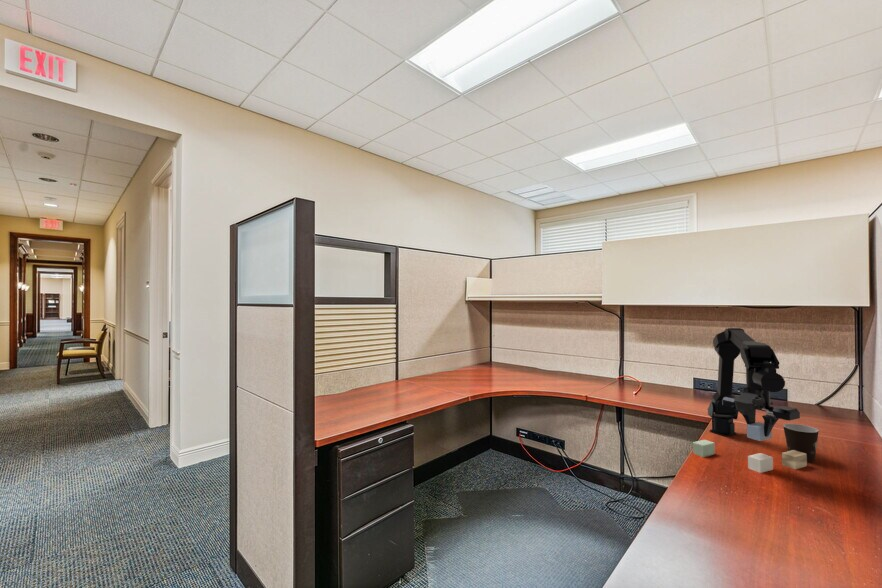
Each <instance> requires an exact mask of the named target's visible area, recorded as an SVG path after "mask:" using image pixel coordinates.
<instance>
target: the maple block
mask: <svg viewBox="0 0 882 588" xmlns="http://www.w3.org/2000/svg"><path fill="white" fill-rule="evenodd" d="M781 465H782V466H783V467H787V468H790V469H793V470H799V469H802V468H805V467H807V466H808V462H807V454H806V453H802V452H799V451H795V450H791V451H788V450H787V451H784V452H781Z"/></svg>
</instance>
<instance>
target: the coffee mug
mask: <svg viewBox="0 0 882 588" xmlns="http://www.w3.org/2000/svg"><path fill="white" fill-rule="evenodd" d="M782 426H783V432H784V437H785V442H786V443H785V444H786V449H787V451H791V450H795V451H799V452H802V453H806V454H807V463H814V462H815V461H816V455H817V454H816V452H817V445H818V440H819V439H818V438H819V431H820V430H819V429H818V428H815V427H813V426H809V425H806V424H798V423H784V424H783V425H782Z"/></svg>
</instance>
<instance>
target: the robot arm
mask: <svg viewBox="0 0 882 588" xmlns="http://www.w3.org/2000/svg"><path fill="white" fill-rule="evenodd" d="M724 329H725V330H724V331H721V332H719V333H716V334H715V336H714V337H713V340H712V345H713V349H714V351H715V352H716V354H717V356H718V357H719V358H718V369H717V370H718V372H717V388H716V389H717V390H716V392H715V393H714V394H713V395H712V396H711V401H710V403H709V404H708V407H707V415H708V416H709V417H710V418H711V429H709V430H708V431H709V432H711V433H713V434H718V435H720V436H722V437H723V436H725V437H728V436H733V435H736V434H737V432H736V429H735V427H736V425H735V423H734V420H738V419H739V418H738V417H739V413H740V414H741V415H742V416H743V418H744V420H745V423H746V425H747V424H752V423H756V413H757V412H756V411H761V412H765V413H766V414H763V415H761V417H762V419H763V423H764V434H765V437H767V436H769V434H770V432H772V430H773V429H774V426H775V424H776V423H777V422H778V420H779V419H780V420H784V421H789V422H790V421H794V420H797V419H798V420H799V419H800V418H801V413H800V411H799V409H798V408H797V407H796V408H795V407H791V406H788V405H787V406H786V405H780V406H776V407H775V406H773V405H774V402H773V400H772V401H771V393H778V392H781V391H782V390H783V389H785V385H786V380H785V379H784V377H783V375H781V374H779V373H778V372H777V370H779V369H780V362H779V359H778V358H777V355H776V353H775V351H774V349H773V348H772V347H771V346H770V344H769V345H768V344H767V343H765V342H759V341H756V340H755V339H753V338H752V337H751V336H750V335H749V334H747V333H746V332H745V329H744V328H740V327H728V328H724ZM739 356H740V357H741V360H742V362H743V364H744V367H745V380H746V383H745V384H746V386H744V387H743V389H742V390H743V392H742V393H741V394H739V395H733V386H734V385H733V384H734V372H735V371H734V370H735V360H736V359H737V358H738V357H739Z"/></svg>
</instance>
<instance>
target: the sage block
mask: <svg viewBox="0 0 882 588" xmlns="http://www.w3.org/2000/svg"><path fill="white" fill-rule="evenodd" d="M715 446H716V444H715V442H713V441H710V440H708V439H701V440H697V441H693V442H692V454H693V453H694V455H696V456H699V457H702V458H706V457H710V456H712V455H716V451H715V450H716V447H715Z"/></svg>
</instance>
